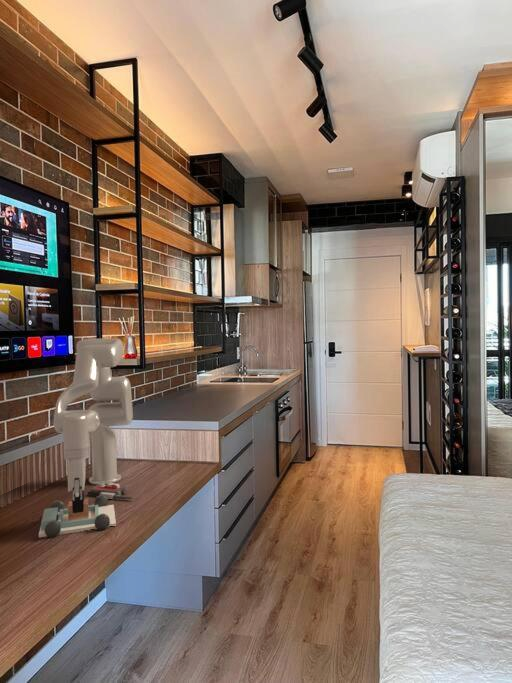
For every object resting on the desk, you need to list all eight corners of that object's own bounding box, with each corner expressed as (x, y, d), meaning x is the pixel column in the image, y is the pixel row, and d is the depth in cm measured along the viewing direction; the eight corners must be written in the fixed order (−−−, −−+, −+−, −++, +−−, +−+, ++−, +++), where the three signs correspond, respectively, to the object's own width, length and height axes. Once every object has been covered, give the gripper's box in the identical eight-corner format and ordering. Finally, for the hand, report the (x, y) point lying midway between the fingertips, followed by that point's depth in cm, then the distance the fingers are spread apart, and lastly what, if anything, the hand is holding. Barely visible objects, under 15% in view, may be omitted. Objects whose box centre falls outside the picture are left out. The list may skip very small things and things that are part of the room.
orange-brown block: (69, 516, 160) (68, 501, 160) (88, 514, 162) (88, 498, 162) (68, 522, 156) (67, 506, 156) (88, 519, 158) (88, 503, 157)
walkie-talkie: (83, 498, 183) (131, 503, 176) (83, 486, 182) (130, 490, 176) (98, 491, 191) (144, 495, 185) (98, 479, 191) (143, 483, 184)
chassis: (44, 515, 165) (44, 502, 165) (113, 506, 172) (113, 493, 172) (38, 539, 146) (37, 524, 146) (116, 528, 153) (115, 513, 152)
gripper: (65, 448, 166) (67, 500, 166) (62, 460, 149) (64, 519, 149) (89, 446, 168) (90, 497, 168) (88, 458, 151) (90, 515, 152)
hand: (78, 507), depth 159 cm, fingers open, 8 cm apart
